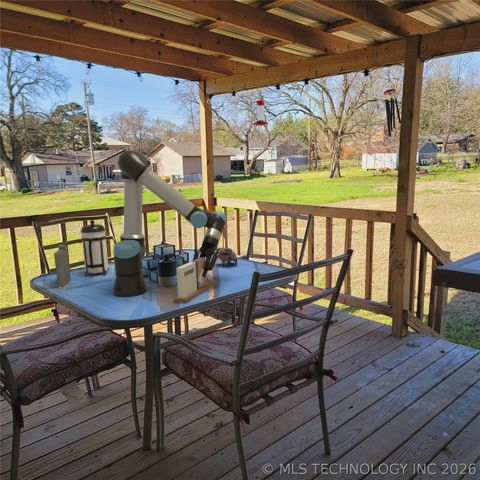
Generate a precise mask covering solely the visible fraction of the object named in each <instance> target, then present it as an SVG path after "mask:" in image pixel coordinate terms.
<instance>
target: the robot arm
mask: <svg viewBox="0 0 480 480" xmlns="http://www.w3.org/2000/svg"><path fill="white" fill-rule="evenodd" d="M117 164H118V165H117V166H118V169H119V170H120V172H121V173H120V174H121V176H120V179H121V181H122V182H124V190H123V191H124V193H123V195H124V196H123V198H124V200H123V201H124V202H123V233H122V234H121V235H120V241H117V242H116V243H115V244H114V245H113V250H112V253H113V258H114V259H113V260H114V270H115V280H114V284H113V289H112V292H113V293H112V294H113V295H114V296H117V297H126V298H127V297H134V296H139V295H142V294H145V293H146V292H147V291H148V285H147V283H146V280H145V278H144V275H143V272H142V271H143V270H142V268H143V267H142V260H143V259H144V257H145V255H146V252H147V248H146V240H145V239H146V238H145V237H146V236H145V234H143V202H144V200H143V199H144V198H143V196H144V195H143V194H144V187H145V188H146V189H148V190H149V191H150V192H152V194H154V195H156V196H157V198H159V199H160V200H162V202H164V203H165V204H166V205H167V206H169V207H170V208H171V209H172V210H174V211H175V212H176V213H178V214H179V215H180V216H182V218H184V219H185V220H186V221H187V222H189V223H190V224H191V226H192V227H194V228H195V229H202V228H206V231H205V234H204V237H203V239H202V243H201V246H200V247H199V249H194V250H193V251H194V254H193V257H192V261H194V260H196V259H198V258H200V257H202V258H205V266H204V267H203V268H204V269H202V271H201V273H200V276H199V279H198V282H199V284H202V281H203V278H204V277H206V278H207V274H208V272H210V271H213V268H214V267H215V264H216V262H217V260H218V259H219V258H218V257H219V256H220V253H219V252H220V251H216V249H218V246H219V242H220V240H221V237H222V234H223V231H224V229H225V226H226V222H227V215H226V214H225V213H224V212H222V211H219V210H216V211H214V212H213V213H211V212H209V211H207V210H206V209H205V210H204V209H202V208H200V207H198V206H196V205H195V204H194V203H192V202H191V201H190V200H189V199H188V198H186V197H185V196H184V195H183V194H182V193H180V192H179V191H178V190H177V189H175V187H173V186H172V185H171V184H169V183H168V181H165V180H164V179H163V178H162V177H161V176H160V175H158V173H156V172H155V171H153V170H152V166H151V165H150V164H149V162H148V159H147V157H146V156H145V154H143V153H142V152H141V151H138V150H135V149H134V150H132V149H128V150H124V151H123V152H122V153H120V154H119V156H118V159H117Z"/></svg>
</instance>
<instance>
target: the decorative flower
mask: <svg viewBox="0 0 480 480" xmlns="http://www.w3.org/2000/svg"><path fill="white" fill-rule="evenodd" d="M216 251H219V253H220V256H219V257H218V258H217V259H218V260H220V261H221V263H220V266H221V268H223V267H224V266H226V265H227V264H228V263H232V262H234V265H235V266H237V265H238V257H237V255H236V253H235V252H234V251H233V250H232V248H230V247H228V248H227V247H217V249H216Z"/></svg>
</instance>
